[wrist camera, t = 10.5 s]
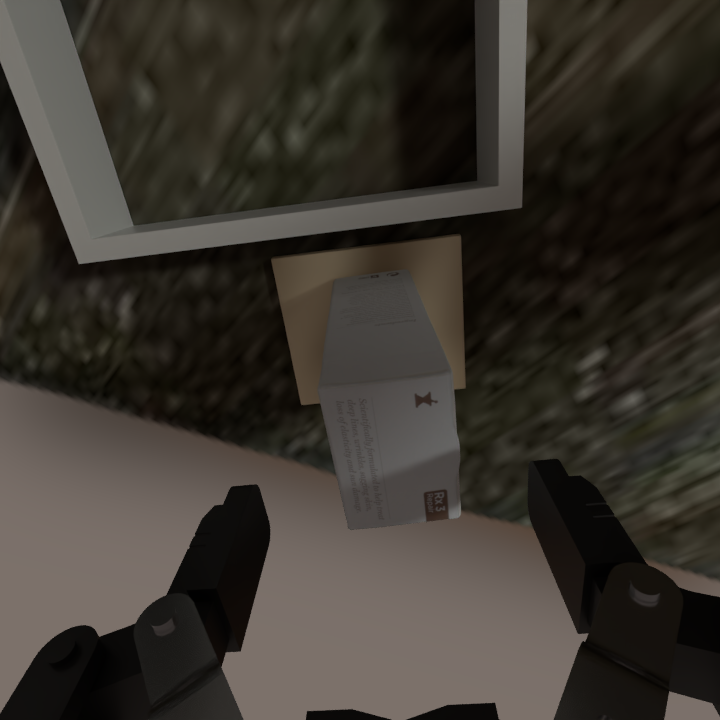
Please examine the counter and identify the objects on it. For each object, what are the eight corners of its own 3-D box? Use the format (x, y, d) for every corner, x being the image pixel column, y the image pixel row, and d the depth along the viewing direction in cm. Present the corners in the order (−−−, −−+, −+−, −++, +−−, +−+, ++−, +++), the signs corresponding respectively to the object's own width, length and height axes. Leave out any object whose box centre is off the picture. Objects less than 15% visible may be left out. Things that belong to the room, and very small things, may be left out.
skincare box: (330, 277, 24) (301, 382, 13) (413, 265, 24) (455, 363, 13) (348, 378, 27) (336, 537, 16) (423, 369, 26) (465, 524, 15)
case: (498, -225, 17) (535, -329, 13) (497, 199, 23) (521, 207, 19) (-8, -131, 18) (-103, -202, 14) (121, 247, 24) (79, 264, 21)
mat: (458, 233, 24) (460, 235, 23) (463, 383, 27) (465, 388, 27) (273, 256, 24) (271, 259, 24) (302, 400, 28) (301, 405, 28)
